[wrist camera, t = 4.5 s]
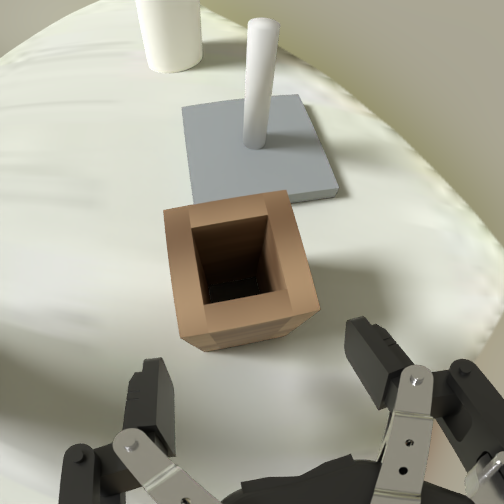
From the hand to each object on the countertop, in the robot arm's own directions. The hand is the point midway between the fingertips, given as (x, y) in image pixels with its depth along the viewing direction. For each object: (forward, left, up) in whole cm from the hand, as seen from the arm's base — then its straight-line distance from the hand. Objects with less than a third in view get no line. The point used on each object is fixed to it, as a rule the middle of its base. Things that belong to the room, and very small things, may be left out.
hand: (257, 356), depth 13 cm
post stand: (+12, +14, -9) cm, 21 cm away
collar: (+2, +4, -9) cm, 10 cm away
